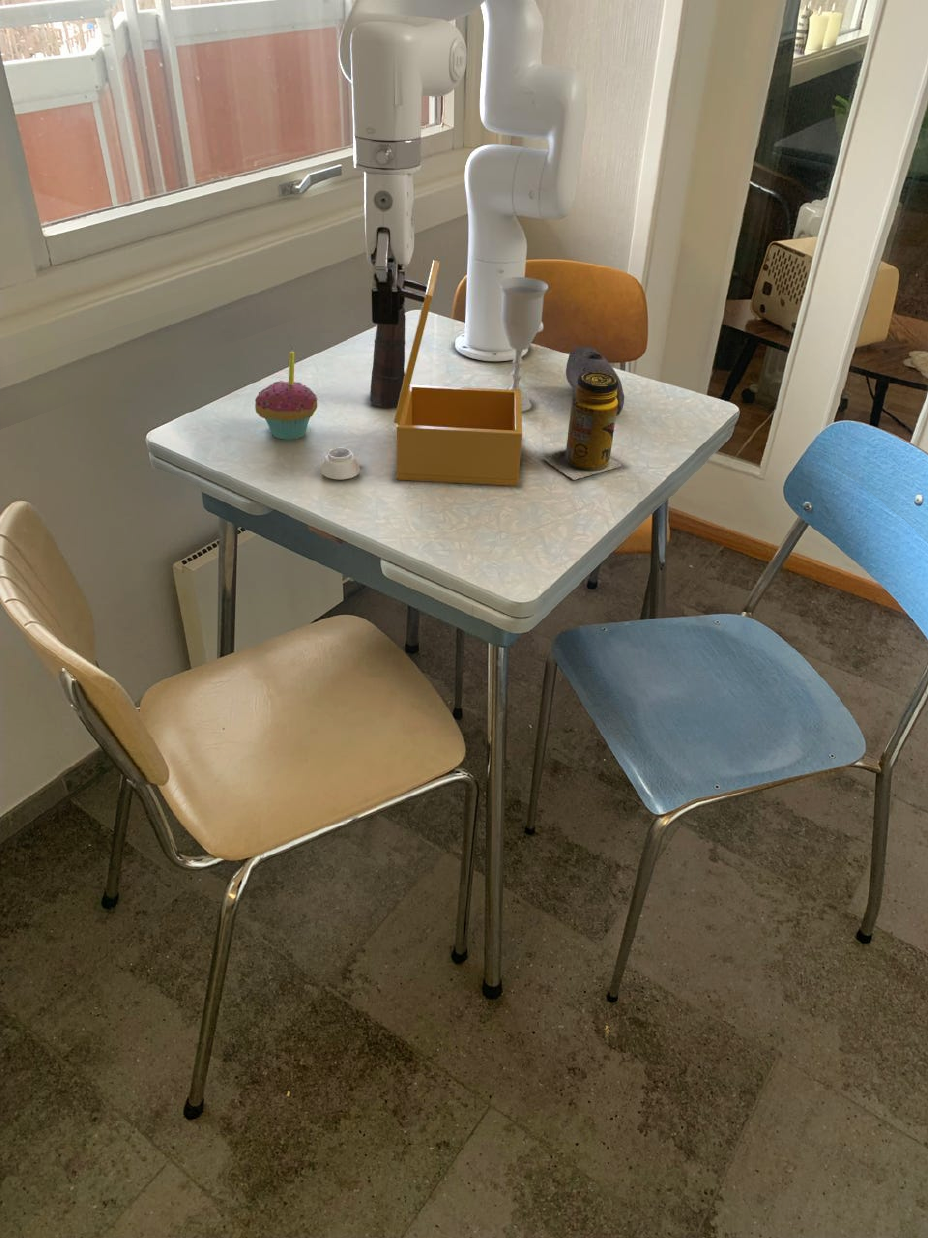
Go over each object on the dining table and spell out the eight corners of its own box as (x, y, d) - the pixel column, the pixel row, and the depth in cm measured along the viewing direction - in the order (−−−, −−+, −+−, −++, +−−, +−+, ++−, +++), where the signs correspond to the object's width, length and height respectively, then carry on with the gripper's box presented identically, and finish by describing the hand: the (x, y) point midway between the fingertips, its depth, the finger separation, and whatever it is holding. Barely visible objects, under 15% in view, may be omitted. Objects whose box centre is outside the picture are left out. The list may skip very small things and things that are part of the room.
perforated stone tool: (632, 424, 136) (639, 379, 132) (600, 427, 134) (606, 382, 130) (591, 384, 147) (596, 342, 143) (560, 387, 146) (565, 344, 142)
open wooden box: (517, 439, 130) (521, 389, 126) (517, 486, 119) (522, 433, 115) (406, 433, 130) (406, 383, 126) (396, 479, 119) (396, 427, 115)
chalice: (545, 411, 138) (557, 290, 127) (503, 417, 136) (512, 294, 125) (524, 392, 144) (534, 275, 133) (484, 397, 141) (491, 278, 131)
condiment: (622, 466, 125) (635, 382, 118) (573, 481, 121) (584, 395, 114) (588, 445, 130) (598, 363, 122) (540, 458, 126) (548, 374, 119)
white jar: (313, 472, 120) (339, 486, 117) (312, 452, 118) (338, 465, 116) (341, 460, 123) (367, 472, 121) (340, 440, 121) (367, 452, 119)
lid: (439, 261, 116) (398, 249, 115) (432, 296, 105) (386, 282, 104) (409, 381, 126) (370, 370, 125) (399, 424, 115) (357, 413, 114)
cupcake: (285, 415, 134) (278, 334, 126) (332, 430, 130) (328, 347, 123) (245, 436, 128) (236, 352, 120) (293, 452, 124) (286, 367, 117)
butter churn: (408, 421, 134) (409, 217, 117) (347, 411, 135) (339, 209, 119) (427, 397, 141) (430, 202, 124) (369, 388, 143) (364, 194, 126)
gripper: (414, 171, 96) (413, 339, 106) (426, 141, 110) (424, 292, 120) (342, 167, 96) (348, 336, 106) (363, 138, 110) (367, 289, 120)
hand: (388, 311), depth 113 cm, fingers open, 6 cm apart
